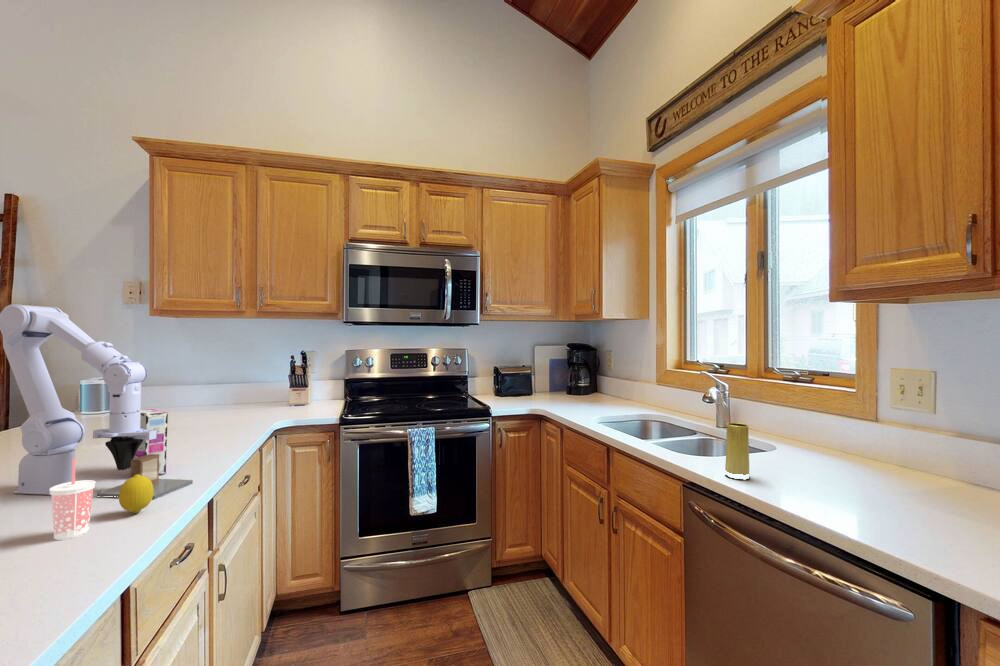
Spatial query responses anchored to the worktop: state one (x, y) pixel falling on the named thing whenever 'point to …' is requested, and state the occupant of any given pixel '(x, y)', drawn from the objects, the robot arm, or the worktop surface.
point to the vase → (737, 449)
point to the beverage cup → (71, 507)
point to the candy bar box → (157, 422)
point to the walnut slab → (146, 467)
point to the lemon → (136, 493)
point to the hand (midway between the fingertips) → (124, 468)
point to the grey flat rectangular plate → (159, 489)
